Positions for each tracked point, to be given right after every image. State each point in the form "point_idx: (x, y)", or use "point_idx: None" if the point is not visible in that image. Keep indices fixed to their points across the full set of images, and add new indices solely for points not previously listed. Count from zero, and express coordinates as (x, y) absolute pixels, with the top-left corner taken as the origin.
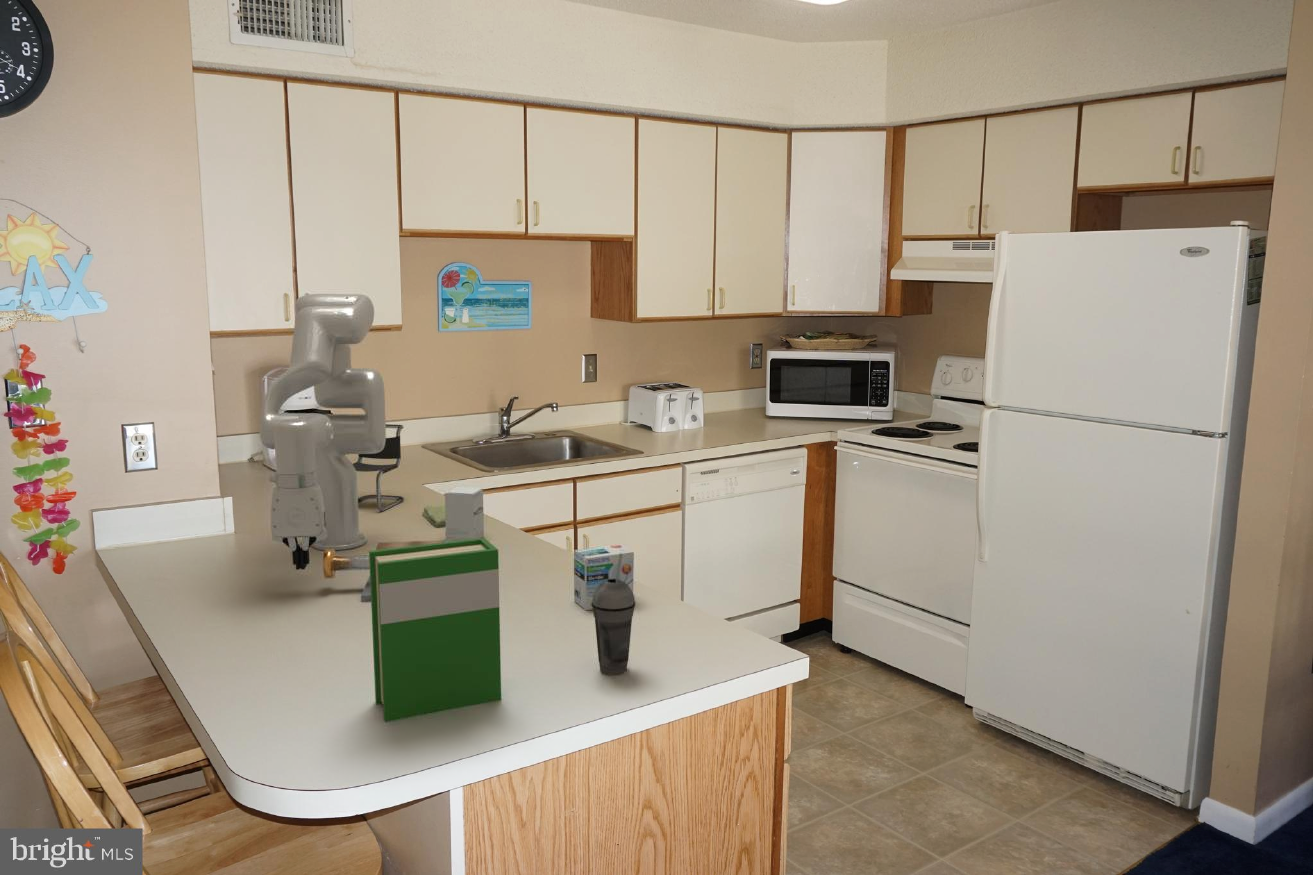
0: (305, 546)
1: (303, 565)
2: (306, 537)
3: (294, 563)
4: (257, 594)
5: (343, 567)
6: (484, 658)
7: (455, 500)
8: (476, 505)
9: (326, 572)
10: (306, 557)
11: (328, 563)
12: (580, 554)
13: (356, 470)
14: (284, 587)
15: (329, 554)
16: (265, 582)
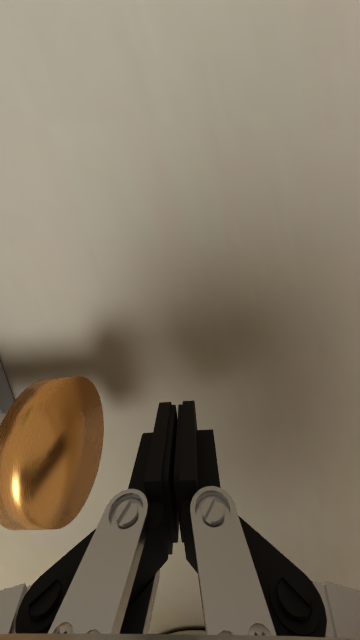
0: (123, 523)
1: (158, 412)
2: (75, 632)
3: (205, 430)
4: (315, 355)
5: (1, 414)
6: None
7: None
8: None
9: (62, 378)
10: (142, 456)
11: (24, 403)
12: None
13: None
14: (247, 410)
15: (2, 460)
16: (312, 451)
